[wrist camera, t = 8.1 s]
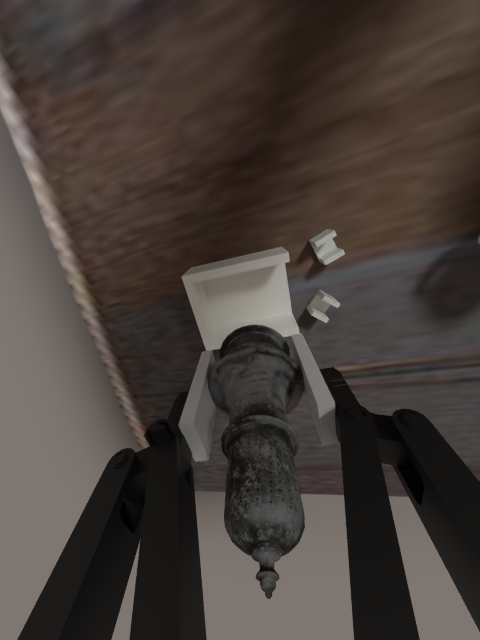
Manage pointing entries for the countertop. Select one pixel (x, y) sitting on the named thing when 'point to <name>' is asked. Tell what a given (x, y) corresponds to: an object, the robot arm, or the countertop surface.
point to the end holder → (241, 295)
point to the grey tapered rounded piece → (260, 445)
